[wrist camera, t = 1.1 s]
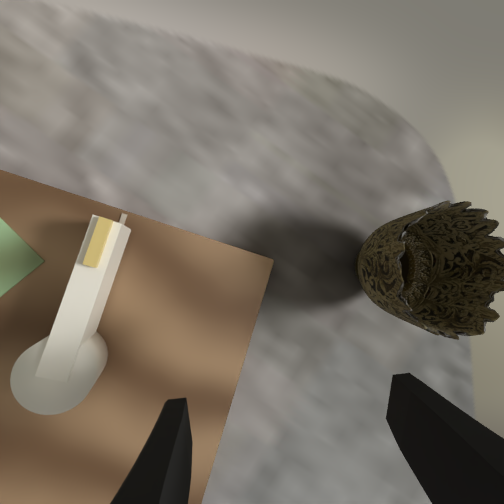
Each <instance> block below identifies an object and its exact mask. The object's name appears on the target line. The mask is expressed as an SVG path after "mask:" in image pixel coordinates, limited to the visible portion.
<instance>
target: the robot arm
mask: <svg viewBox="0 0 504 504" xmlns="http://www.w3.org/2000/svg"><path fill="white" fill-rule="evenodd" d="M386 420H387V422H388V424H389V426H390V429H391V431H392V433H393V435H394V438H395V440H396V442H397V444H398V446H399V448H400V450H401V452H402V454H403V455H404V457H405V459H406V460H407V462H408V464H409V466H410V467H411V469H412V471H413V472H414V474H415V476H416V477H417V479H418V481H419V482H420V484H421V486H422V487H423V489H424V491H425V492H426V494H427V496H428V497H429V499H430V501H431V502H432V504H504V439H503V438H502V437H500V436H499V435H497V434H496V433H494V432H493V431H491V430H489V429H488V428H487V427H485V426H484V425H482V424H481V423H479V422H478V421H476V420H475V419H473V418H472V417H470V416H469V415H468V414H466V413H465V412H463V411H462V410H460V409H459V408H458V407H456V406H455V405H453V404H452V403H451V402H449V401H448V400H446V399H445V398H444V397H442V396H441V395H440V394H438V393H437V392H435V391H434V390H433V389H431V388H430V387H428V386H427V385H426V384H424V383H423V382H422V381H420V380H419V379H417V378H416V377H414V376H413V375H411V374H410V373H405V374H396V375H393V377H392V383H391V390H390V396H389V403H388V409H387V415H386ZM192 446H193V441H192V434H191V427H190V420H189V412H188V405H187V398H177V399H168V400H167V401H166V402H165V403H164V406H163V408H162V410H161V413H160V415H159V417H158V419H157V421H156V423H155V426H154V428H153V430H152V432H151V434H150V435H149V437H148V439H147V441H146V443H145V445H144V447H143V449H142V450H141V452H140V454H139V456H138V458H137V460H136V461H135V463H134V465H133V467H132V468H131V470H130V472H129V473H128V475H127V477H126V478H125V480H124V482H123V483H122V485H121V487H120V488H119V490H118V492H117V493H116V495H115V497H114V498H113V500H112V501H111V503H110V504H188V499H189V492H190V484H191V473H192Z"/></svg>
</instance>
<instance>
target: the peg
mask: <svg viewBox="0 0 504 504" xmlns="http://www.w3.org/2000/svg"><path fill="white" fill-rule="evenodd" d="M130 232H131V229H130V228H128V227H126V226H125V225H123V224H121V223H118V222H115V221H112V220H110V219H106V218H103V217H100V216H96V215H92V218H91V221H90V224H89V227H88V229H87V232H86V235H85V238H84V241H83V243H82V246H81V249H80V252H79V254H78V257H77V260H76V263H75V266H74V268H73V271H72V274H71V277H70V280H69V282H68V285H67V288H66V291H65V294H64V296H63V299H62V302H61V305H60V308H59V310H58V313H57V316H56V319H55V322H54V324H53V327H52V330H51V333H50V335H49V336H47V337H46V338H44V339H42V340H41V341H39V342H38V343H36V344H34V345H33V346H31V347H30V348H28V349H27V350H26V351H24V352H23V353H22V354H21V355H20V357H19V358H18V359H17V361H16V362H15V364H14V366H13V368H12V372H11V377H10V385H11V390H12V393H13V395H14V397H15V399H16V400H17V401H18V403H19V404H20V405H21V406H23V407H24V408H25V409H27V410H29V411H31V412H34V413H37V414H42V415H55V414H60V413H63V412H66V411H68V410H70V409H72V408H74V407H75V406H77V405H78V404H79V403H81V402H82V401H83V400H84V398H85V397H86V396H87V395H88V393H89V391H90V390H91V388H92V387H93V385H94V384H95V382H96V381H97V379H98V377H99V376H100V374H101V373H102V371H103V369H104V368H105V365H106V363H107V358H108V350H107V345H106V343H105V341H104V339H103V338H102V336H101V335H100V334H99V333H98V332H96V331H97V328H98V325H99V322H100V319H101V316H102V313H103V310H104V307H105V305H106V302H107V299H108V296H109V293H110V290H111V287H112V284H113V281H114V278H115V276H116V273H117V270H118V267H119V264H120V261H121V258H122V255H123V252H124V249H125V247H126V244H127V241H128V238H129V235H130Z"/></svg>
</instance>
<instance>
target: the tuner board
mask: <svg viewBox="0 0 504 504" xmlns="http://www.w3.org/2000/svg"><path fill="white" fill-rule="evenodd" d="M92 215H96V216H100V217H103V218H106V219H110V220H112V221H115V222H118V223H121V224H123V225H125V226H126V227H128V228H130V229H131V232H130V235H129V238H128V241H127V244H126V247H125V249H124V252H123V255H122V258H121V261H120V264H119V267H118V270H117V273H116V276H115V278H114V281H113V284H112V287H111V290H110V293H109V296H108V299H107V302H106V305H105V307H104V310H103V313H102V316H101V319H100V322H99V325H98V328H97V331H96V332H98V333H99V334H100V335H101V336H102V338H103V339H104V341H105V343H106V345H107V350H108V358H107V363H106V365H105V368H104V369H103V371H102V373H101V374H100V376H99V377H98V379H97V381H96V382H95V384H94V385H93V387H92V388H91V390H90V391H89V393H88V395H87V396H86V397H85V398H84V400H83V401H82V402H81V403H79V404H78V405H77V406H75V407H74V408H72V409H70V410H68V411H66V412H63V413H60V414H55V415H42V414H37V413H34V412H31V411H29V410H27V409H25V408H24V407H23V406H21V405H20V404H19V403H18V401H17V400H16V399H15V397H14V395H13V393H12V390H11V385H10V377H11V372H12V368H13V366H14V364H15V362H16V361H17V359H18V358H19V357H20V355H21V354H22V353H23V352H24V351H26V350H27V349H28V348H30V347H31V346H33V345H34V344H36V343H38V342H39V341H41V340H42V339H44V338H46V337H47V336H49V335H50V333H51V330H52V327H53V324H54V322H55V319H56V316H57V313H58V310H59V308H60V305H61V302H62V299H63V296H64V294H65V291H66V288H67V285H68V282H69V280H70V277H71V274H72V271H73V268H74V266H75V263H76V260H77V257H78V254H79V252H80V249H81V246H82V243H83V241H84V238H85V235H86V232H87V229H88V227H89V224H90V221H91V218H92ZM273 263H274V260H273V259H270V258H267V257H264V256H261V255H258V254H255V253H252V252H249V251H246V250H243V249H240V248H237V247H234V246H231V245H228V244H225V243H221V242H218V241H215V240H212V239H209V238H206V237H203V236H200V235H197V234H194V233H191V232H188V231H185V230H182V229H179V228H176V227H173V226H170V225H167V224H164V223H161V222H158V221H155V220H152V219H148V218H145V217H142V216H139V215H136V214H133V213H130V212H127V211H124V210H121V209H118V208H115V207H112V206H109V205H106V204H103V203H100V202H97V201H94V200H91V199H88V198H85V197H82V196H79V195H75V194H72V193H69V192H66V191H63V190H60V189H57V188H54V187H51V186H48V185H45V184H42V183H39V182H36V181H33V180H30V179H27V178H24V177H21V176H18V175H15V174H12V173H9V172H6V171H2V170H0V504H110V503H111V501H112V500H113V498H114V497H115V495H116V493H117V492H118V490H119V488H120V487H121V485H122V483H123V482H124V480H125V478H126V477H127V475H128V473H129V472H130V470H131V468H132V467H133V465H134V463H135V461H136V460H137V458H138V456H139V454H140V452H141V450H142V449H143V447H144V445H145V443H146V441H147V439H148V437H149V435H150V434H151V432H152V430H153V428H154V426H155V423H156V421H157V419H158V417H159V415H160V413H161V410H162V408H163V406H164V403H165V402H166V401H167V400H168V399H177V398H187V405H188V412H189V420H190V427H191V434H192V441H193V446H192V473H191V484H190V492H189V499H188V504H201V502H202V499H203V496H204V492H205V489H206V486H207V482H208V479H209V476H210V472H211V469H212V466H213V462H214V459H215V456H216V452H217V449H218V446H219V442H220V439H221V436H222V432H223V429H224V426H225V422H226V419H227V416H228V412H229V409H230V406H231V402H232V399H233V396H234V392H235V389H236V386H237V382H238V379H239V376H240V372H241V369H242V366H243V363H244V359H245V356H246V353H247V349H248V346H249V343H250V339H251V336H252V333H253V329H254V326H255V323H256V319H257V316H258V313H259V309H260V306H261V303H262V299H263V296H264V293H265V289H266V286H267V283H268V279H269V276H270V273H271V269H272V266H273Z"/></svg>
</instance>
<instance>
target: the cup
mask: <svg viewBox="0 0 504 504" xmlns="http://www.w3.org/2000/svg"><path fill="white" fill-rule="evenodd" d="M469 206H471V202H465V201H464V202H460V203H455V204H451V201H445V202H442V203H439V204H437V205H435V206H432V207H429V208H426V209H423V210H420V211H417V212H414V213H411V214H408V215H406V216H403V217H400V218H398V219H395V220H393V221H390V222H388V223H386V224H384V225H383V226H381V227H380V228H378V229H377V230H375V231H374V232H373V233H372V234H371V235H370V236H369V237H368V239H367V240H366V241H365V243H364V245H363V246H362V249H361V250H360V251H359V253H358V254H357V256H356V259H355V264H354V268H355V273H356V276H357V278H358V279H359V281H360V283H361V285H362V288H363V289H364V291H365V293H366V294H367V295H368V297H369V298H370V299H371V300H372V301H373V302H374V303H375V304H376V305H377V306H379V307H380V308H381V309H383V310H384V311H386V312H388V313H390V314H392V315H394V316H396V317H398V318H400V319H402V320H404V321H406V322H408V323H411V324H413V325H415V326H417V327H420V328H422V329H424V330H427V331H428V332H430V333H433V334H435V335H439V334H440V335H442V336H444V337H448V338H452V339H457V340H459V337H458V336H457V335H464V336H474V335H481V334H484V333H485V331H486V329H485V326H486V322H494V321H495V320H497V319H498V318H499V317H500V316H499V314H498V313H497V312H496V311H495V310H493V309H491V308H490V307H489V308H488V306H489V304H490V303H491V302H493V301H494V296H493V295H494V294H495V293H498V292H499V291H504V255H503V254H502V253H501V251H500V249H502V248H504V239H503V238H502V237H493V236H489V234H491V233H492V232H493V231H494V230H495V229H496V228H497V226H498V225H499V223H498V221H496V220H490V219H487V218H486V216H487V214H488V211H487V210H484V209H466V208H467V207H469Z"/></svg>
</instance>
